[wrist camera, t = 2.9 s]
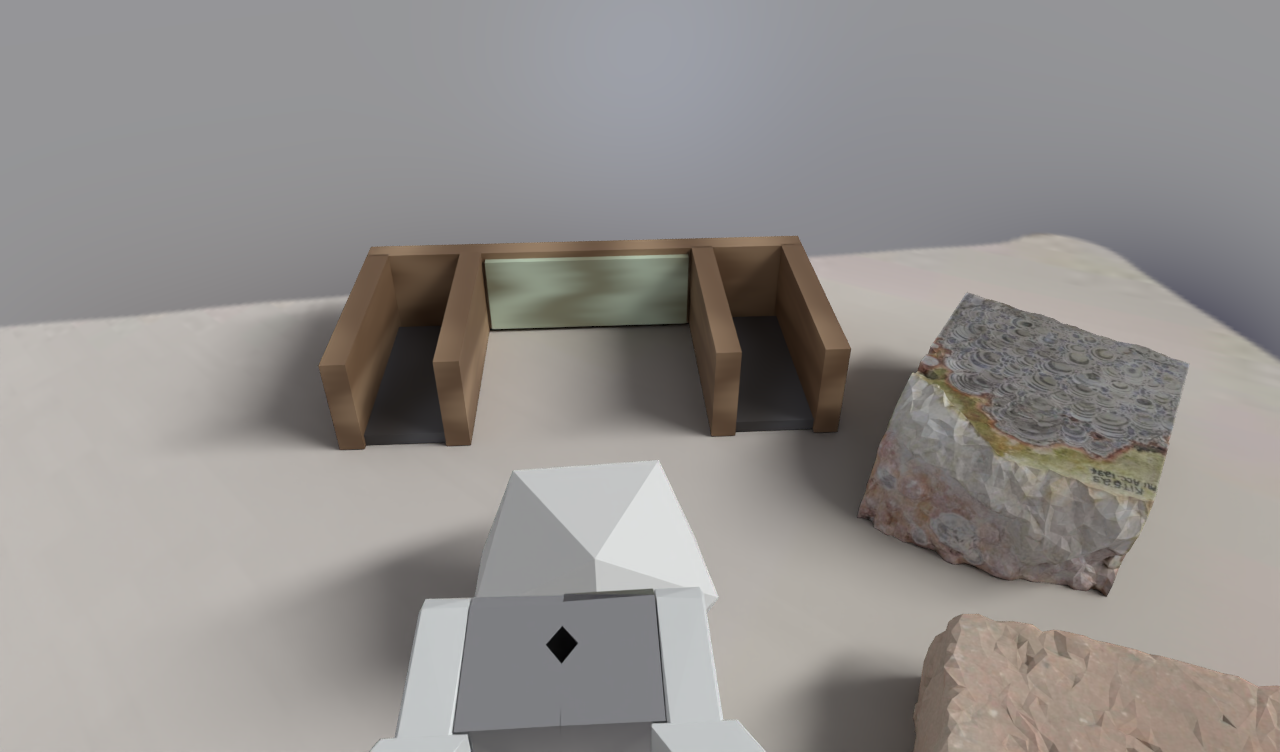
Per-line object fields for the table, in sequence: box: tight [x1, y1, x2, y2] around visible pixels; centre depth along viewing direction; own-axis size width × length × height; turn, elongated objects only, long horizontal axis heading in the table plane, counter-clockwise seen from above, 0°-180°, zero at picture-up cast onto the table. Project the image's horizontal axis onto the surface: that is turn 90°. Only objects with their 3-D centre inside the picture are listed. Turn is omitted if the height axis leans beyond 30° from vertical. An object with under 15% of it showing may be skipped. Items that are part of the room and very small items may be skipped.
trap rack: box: [318, 236, 851, 450], centre depth 47 cm, size 25×12×5 cm, turn 93°
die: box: [475, 460, 719, 613], centre depth 31 cm, size 8×9×10 cm
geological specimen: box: [857, 293, 1189, 596], centre depth 40 cm, size 11×6×15 cm
